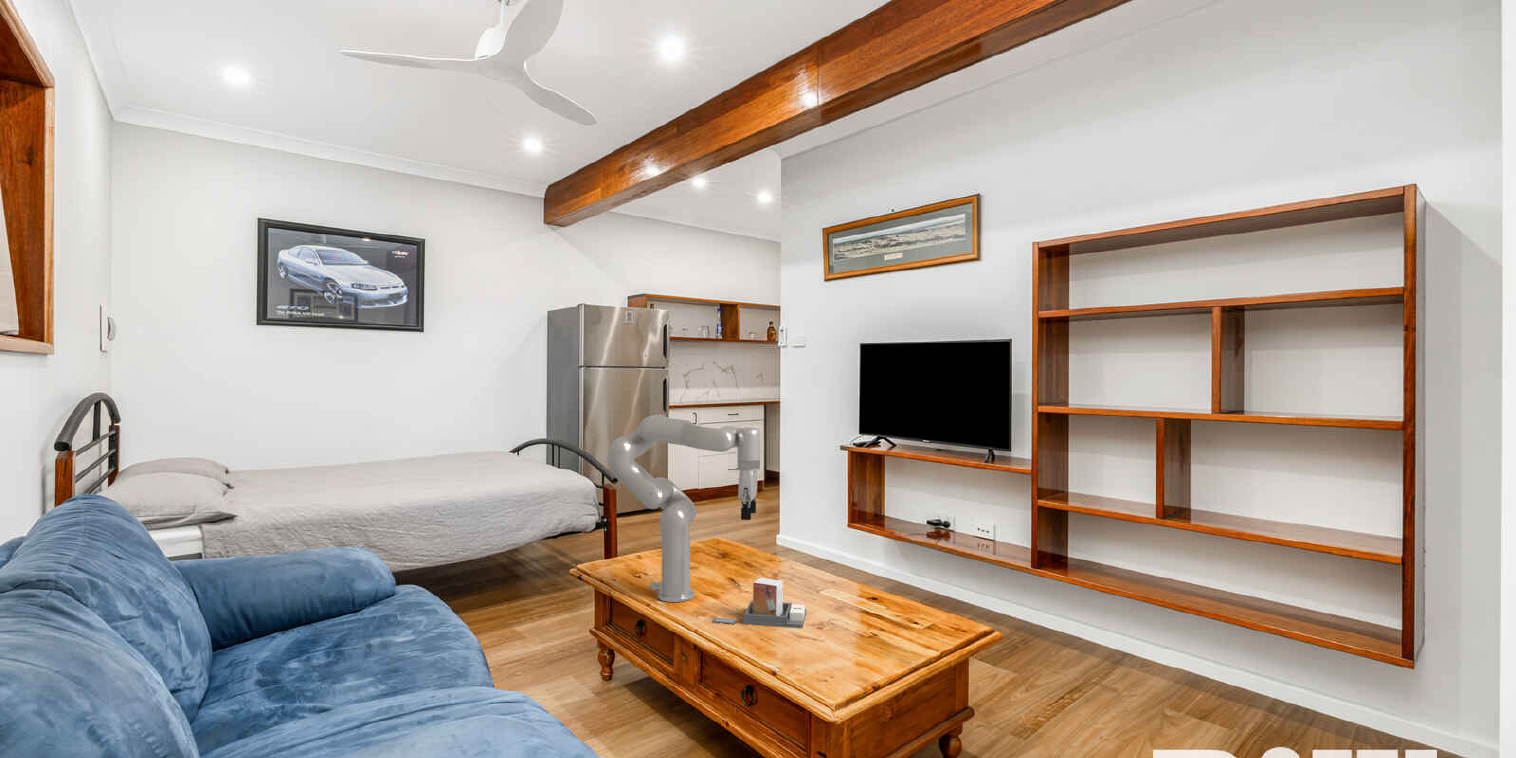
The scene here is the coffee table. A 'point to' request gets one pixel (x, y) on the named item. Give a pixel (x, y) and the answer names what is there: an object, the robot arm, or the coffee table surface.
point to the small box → (767, 597)
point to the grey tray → (789, 618)
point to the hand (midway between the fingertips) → (748, 516)
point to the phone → (724, 621)
